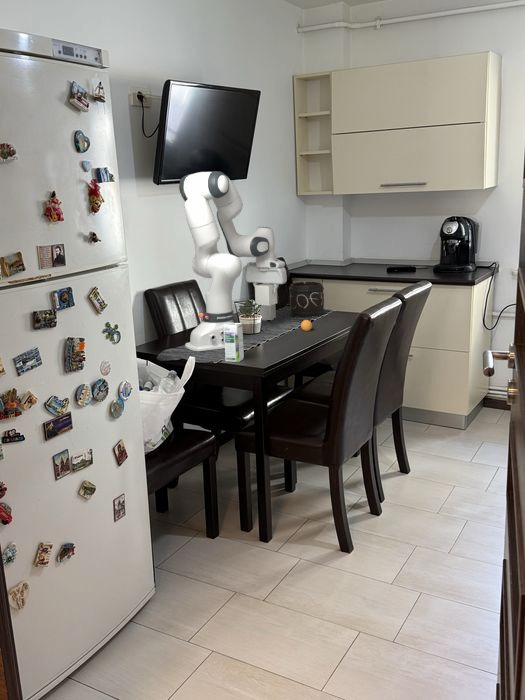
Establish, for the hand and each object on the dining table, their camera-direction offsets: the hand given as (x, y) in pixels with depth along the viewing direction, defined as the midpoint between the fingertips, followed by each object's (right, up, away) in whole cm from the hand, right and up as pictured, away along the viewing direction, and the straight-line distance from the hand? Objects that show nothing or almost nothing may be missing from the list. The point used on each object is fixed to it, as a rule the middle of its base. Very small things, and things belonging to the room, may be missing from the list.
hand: (266, 292), depth 313 cm
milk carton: (0, -11, +24) cm, 27 cm away
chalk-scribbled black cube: (+21, -9, +31) cm, 39 cm away
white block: (0, -5, +1) cm, 5 cm away
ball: (+18, -15, -6) cm, 24 cm away
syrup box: (-13, -31, -49) cm, 60 cm away
